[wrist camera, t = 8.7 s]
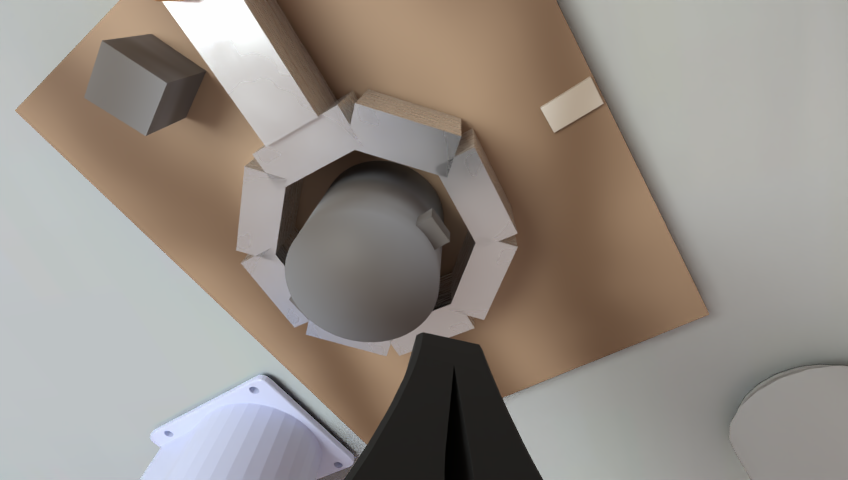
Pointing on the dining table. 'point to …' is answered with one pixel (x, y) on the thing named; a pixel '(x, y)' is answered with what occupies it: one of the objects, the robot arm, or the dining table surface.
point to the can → (795, 426)
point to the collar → (330, 140)
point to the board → (439, 68)
